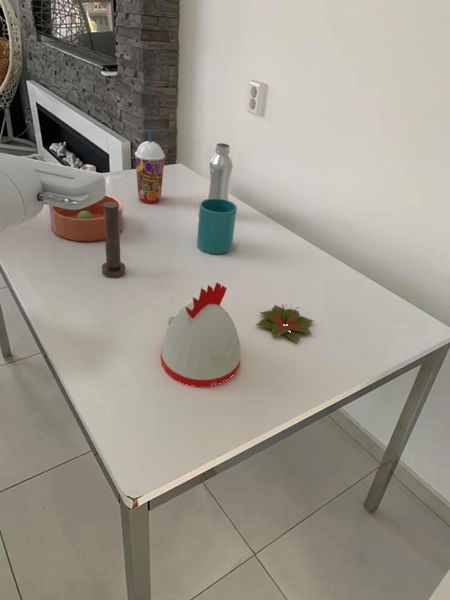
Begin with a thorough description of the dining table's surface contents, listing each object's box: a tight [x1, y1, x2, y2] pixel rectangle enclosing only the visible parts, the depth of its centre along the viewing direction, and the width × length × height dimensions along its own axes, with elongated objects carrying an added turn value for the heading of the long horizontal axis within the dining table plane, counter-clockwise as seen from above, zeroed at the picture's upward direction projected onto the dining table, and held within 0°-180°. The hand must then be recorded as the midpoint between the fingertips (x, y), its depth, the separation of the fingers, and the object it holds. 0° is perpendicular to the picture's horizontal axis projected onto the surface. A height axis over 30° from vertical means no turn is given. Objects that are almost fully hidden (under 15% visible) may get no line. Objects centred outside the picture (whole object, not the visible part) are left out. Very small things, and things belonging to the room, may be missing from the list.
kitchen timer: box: [160, 282, 241, 387], centre depth 76 cm, size 14×14×15 cm
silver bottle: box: [207, 142, 234, 201], centre depth 126 cm, size 6×7×20 cm
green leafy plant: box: [255, 303, 314, 344], centre depth 89 cm, size 12×12×5 cm
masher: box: [101, 202, 126, 279], centre depth 96 cm, size 5×5×16 cm
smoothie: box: [134, 130, 166, 204], centre depth 130 cm, size 8×8×20 cm
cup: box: [196, 198, 238, 255], centre depth 113 cm, size 9×12×11 cm
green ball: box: [77, 211, 93, 219], centre depth 115 cm, size 4×4×4 cm
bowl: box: [48, 193, 124, 243], centre depth 116 cm, size 18×18×6 cm
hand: (65, 164), depth 74 cm, fingers open, 8 cm apart
